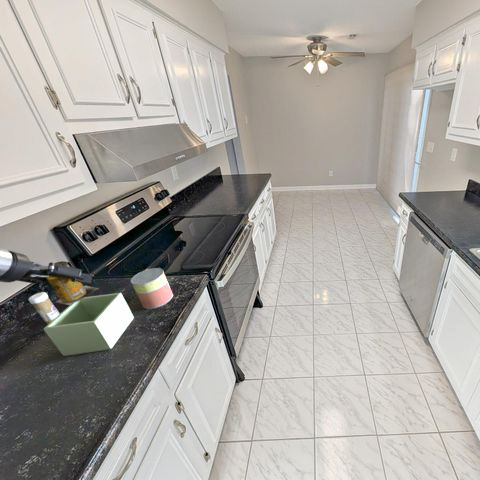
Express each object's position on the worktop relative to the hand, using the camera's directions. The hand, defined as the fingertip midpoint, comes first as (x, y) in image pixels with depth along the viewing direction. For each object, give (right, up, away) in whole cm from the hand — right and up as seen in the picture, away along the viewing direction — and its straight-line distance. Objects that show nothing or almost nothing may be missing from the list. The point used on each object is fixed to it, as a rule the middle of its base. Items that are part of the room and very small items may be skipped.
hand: (79, 280), depth 83 cm
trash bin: (+2, -20, +7) cm, 21 cm away
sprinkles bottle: (-21, -19, +14) cm, 32 cm away
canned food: (+11, -12, +23) cm, 28 cm away
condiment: (+1, -5, -1) cm, 5 cm away
